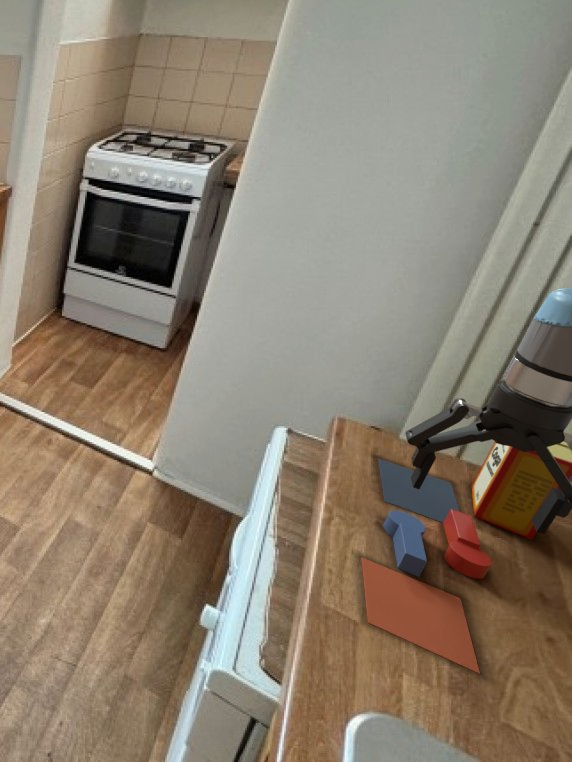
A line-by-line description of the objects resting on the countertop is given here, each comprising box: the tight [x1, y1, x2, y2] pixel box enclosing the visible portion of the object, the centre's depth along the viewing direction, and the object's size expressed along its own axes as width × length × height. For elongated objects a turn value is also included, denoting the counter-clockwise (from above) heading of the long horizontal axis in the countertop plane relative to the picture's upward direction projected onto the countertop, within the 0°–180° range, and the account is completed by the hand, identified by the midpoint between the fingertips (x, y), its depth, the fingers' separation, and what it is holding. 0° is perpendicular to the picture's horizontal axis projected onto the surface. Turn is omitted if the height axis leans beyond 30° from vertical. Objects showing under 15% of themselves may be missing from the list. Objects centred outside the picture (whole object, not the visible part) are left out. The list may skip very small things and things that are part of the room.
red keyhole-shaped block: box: [442, 509, 493, 580], centre depth 93 cm, size 11×4×4 cm, turn 143°
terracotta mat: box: [361, 557, 481, 675], centre depth 84 cm, size 11×13×1 cm
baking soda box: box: [470, 441, 572, 540], centre depth 98 cm, size 10×6×16 cm
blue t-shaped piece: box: [382, 509, 428, 578], centre depth 94 cm, size 11×4×4 cm, turn 143°
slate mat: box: [377, 458, 461, 524], centre depth 105 cm, size 10×13×1 cm
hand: (473, 504), depth 93 cm, fingers open, 13 cm apart
